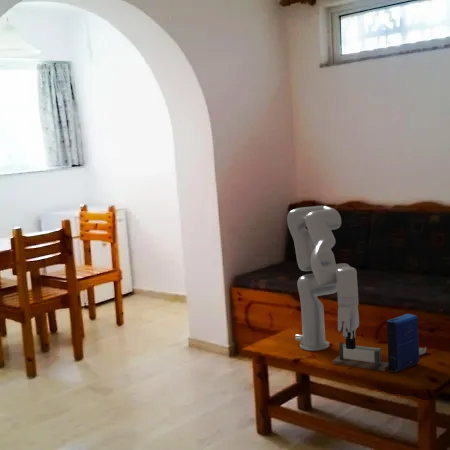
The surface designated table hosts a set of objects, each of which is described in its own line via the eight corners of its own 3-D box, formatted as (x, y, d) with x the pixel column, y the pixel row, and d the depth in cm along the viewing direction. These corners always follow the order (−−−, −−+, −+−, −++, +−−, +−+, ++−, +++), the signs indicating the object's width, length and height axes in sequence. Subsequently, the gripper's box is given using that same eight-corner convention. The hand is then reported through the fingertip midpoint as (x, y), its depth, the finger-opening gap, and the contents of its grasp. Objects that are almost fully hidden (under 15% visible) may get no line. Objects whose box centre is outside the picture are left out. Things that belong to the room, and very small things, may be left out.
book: (396, 374, 233) (394, 322, 231) (385, 371, 237) (383, 319, 235) (421, 364, 241) (419, 313, 239) (409, 361, 246) (408, 311, 243)
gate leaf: (343, 358, 249) (342, 344, 248) (344, 357, 250) (344, 343, 249) (380, 363, 240) (379, 349, 240) (381, 362, 242) (380, 348, 241)
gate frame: (332, 363, 249) (331, 344, 248) (338, 358, 254) (337, 339, 253) (384, 371, 237) (383, 350, 236) (389, 365, 242) (389, 345, 241)
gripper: (346, 295, 242) (349, 341, 244) (330, 304, 229) (333, 353, 231) (365, 296, 238) (367, 343, 240) (349, 305, 225) (352, 355, 227)
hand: (350, 348), depth 235 cm, fingers closed
